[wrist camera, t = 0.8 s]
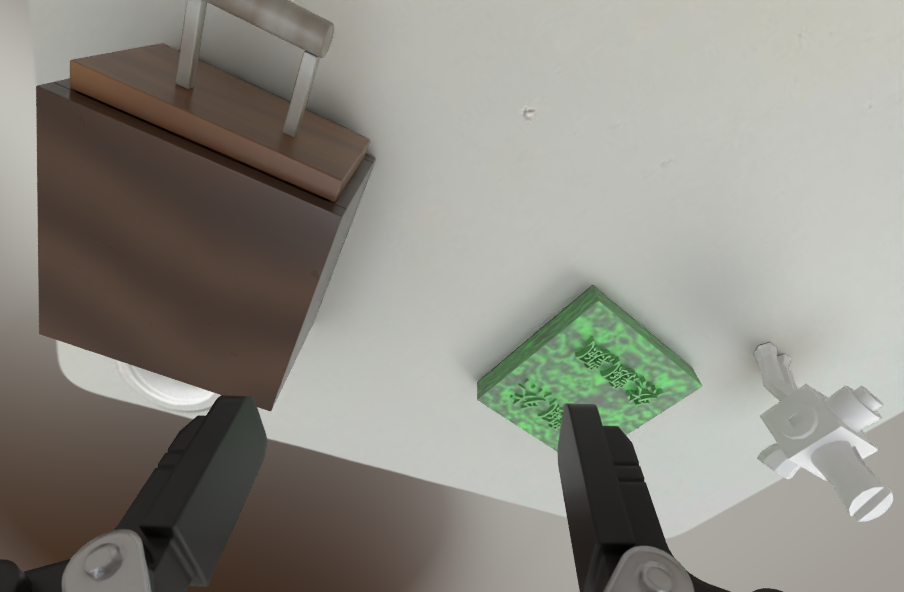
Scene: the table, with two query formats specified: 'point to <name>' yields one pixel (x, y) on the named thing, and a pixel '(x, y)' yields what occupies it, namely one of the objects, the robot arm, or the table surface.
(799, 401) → the toy robot
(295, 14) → the drawer
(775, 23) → the table surface
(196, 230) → the cabinet
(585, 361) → the green jade tablet
